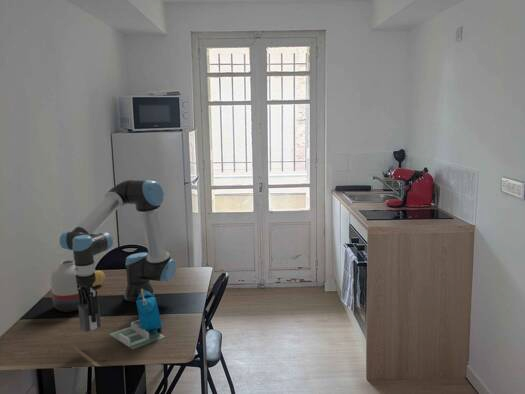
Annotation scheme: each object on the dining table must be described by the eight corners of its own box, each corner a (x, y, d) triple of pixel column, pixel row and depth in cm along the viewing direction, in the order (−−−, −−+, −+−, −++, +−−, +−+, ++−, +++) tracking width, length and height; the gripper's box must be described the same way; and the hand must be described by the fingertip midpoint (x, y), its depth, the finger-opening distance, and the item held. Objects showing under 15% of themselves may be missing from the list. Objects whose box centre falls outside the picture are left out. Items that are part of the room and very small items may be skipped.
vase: (65, 300, 267) (61, 256, 262) (95, 301, 263) (92, 257, 259) (46, 312, 250) (41, 266, 246) (77, 315, 247) (74, 267, 243)
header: (119, 340, 217) (118, 332, 216) (139, 333, 223) (139, 325, 223) (128, 346, 211) (128, 338, 210) (149, 339, 218) (149, 331, 217)
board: (108, 336, 223) (108, 333, 223) (141, 325, 234) (141, 322, 234) (132, 351, 209) (132, 348, 209) (165, 339, 220) (165, 336, 220)
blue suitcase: (163, 338, 221) (161, 294, 217) (138, 341, 218) (136, 296, 215) (160, 322, 237) (158, 281, 233) (137, 325, 234) (135, 283, 231)
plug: (80, 328, 212) (78, 304, 210) (95, 322, 217) (93, 300, 215) (85, 332, 209) (83, 308, 207) (101, 326, 213) (99, 303, 211)
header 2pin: (131, 328, 228) (130, 322, 228) (144, 324, 233) (143, 318, 232) (137, 332, 224) (137, 326, 224) (150, 327, 229) (150, 321, 228)
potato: (79, 284, 289) (78, 268, 288) (106, 283, 292) (105, 266, 290) (76, 291, 280) (74, 274, 278) (103, 289, 282) (102, 272, 280)
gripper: (66, 270, 212) (72, 323, 216) (86, 281, 199) (91, 336, 204) (84, 266, 217) (89, 317, 221) (104, 276, 204) (109, 330, 209)
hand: (90, 326), depth 212 cm, fingers closed on plug, 5 cm apart
